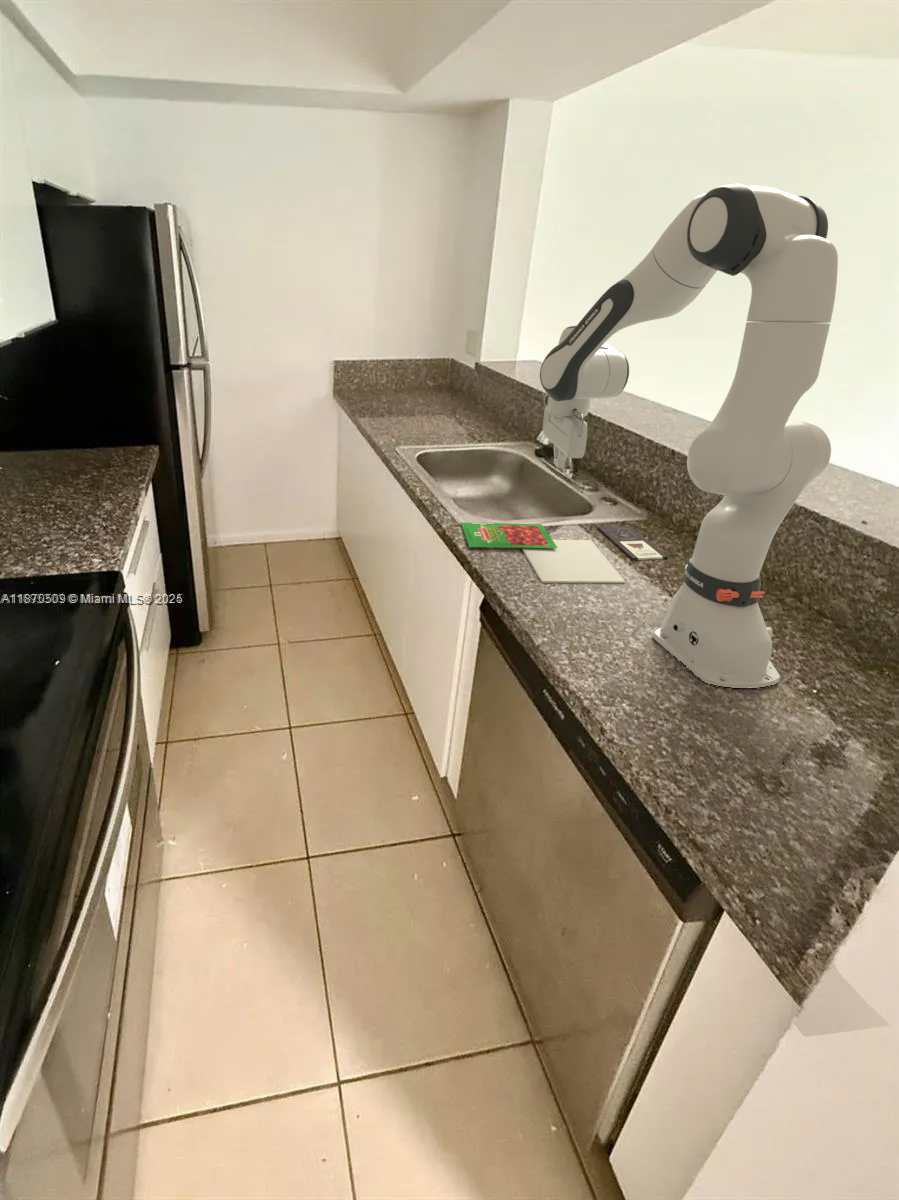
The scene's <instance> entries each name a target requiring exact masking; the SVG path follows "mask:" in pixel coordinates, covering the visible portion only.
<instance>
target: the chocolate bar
mask: <svg viewBox="0 0 899 1200" xmlns="http://www.w3.org/2000/svg"><path fill="white" fill-rule="evenodd" d="M596 529H597V530H598V531H599V532H600V531H601V532H602V533H603V536H605V537H606V538H607V537H608V538H609V539H610V540H611V541H612V543H613V542H614V543H615V544H614V543H613V544H614V545H615V546H616V545H617V546H618V547H619V548H620V549H621V550H622V551H621V550H620V549H619V548H618V547H617V546H616V547H617V548H618V549H619V550H620V551H621V552H622V553H623V554H625V555H626V556H627V557H628V556H629V557H630V558H631V559H630V558H629V557H628V558H629V559H630V560H631V561H645V560H647V561H649V560H668V558H669V556H668V554H665V553H664V552H663V551H662V550H660V548H658V547H657V546H656V545H654V544H653V542H652V543H651V542H650V541H649V540H648V539H647V538H646V537H645V536H643V535H642V534H641V533H640V532H639V531H637V530H636V529H634V528H633V527H632V526H631V525H622V526H621V525H619V526H618V525H617V526H615V525H614V526H597V528H596ZM601 532H600V533H601ZM602 533H601V534H602ZM608 538H607V539H608ZM609 539H608V540H609ZM610 540H609V541H610ZM611 541H610V542H611Z"/></svg>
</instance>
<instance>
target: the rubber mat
mask: <svg viewBox="0 0 899 1200" xmlns="http://www.w3.org/2000/svg"><path fill="white" fill-rule="evenodd" d="M552 540H553V542H554V543H555V545H556V546H557V548H521V550H522V552H523V554H524V556H525V557H526V559H527V560H528V562H529V564H530V566H531V567H532V569H533V571H534V572H535V575H536V576H537V577H538V579H539V581H540V582H541V584H625V583H626V581H625V579H624V578H623V577H622V576H621V574H620V573H619V572H618V571H617V570H616V568H615V567H614V566H613V565H612V564H611V562H609V560H608V559H607V558H606V557H605V555H604V554H603V553H602V551H601V550H600V549H599V548H598V547H597V546H596V544H595V543H594V542H593V541H592V540H591V539H589V540H588V539H587V540H586V539H552Z"/></svg>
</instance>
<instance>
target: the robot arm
mask: <svg viewBox="0 0 899 1200" xmlns="http://www.w3.org/2000/svg"><path fill="white" fill-rule="evenodd" d="M828 230H829V221H828V216H827V214H826V211H825V210H824V209H823V207H822V206H821V204H818V203H817V202H816V201H815V200H813V199H812V198H809V197H808V196H802V195H794V194H791V193H789V192H786V191H782V190H779V189H778V188H775V187H769V186H760V185H750V186H749V185H748V186H747V185H745V184H743V183H742V184H741V183H733V184H731V183H730V184H726V185H721V186H718V187H714V188H713V189H711V190H709V191H708V192H707V193H702V194H700V195H697V196H696V197H695V198H693V199H692V200H691V201H690V202H689V203H688V204H687V205H686V206H685V207H684V208H683V209H682V210H681V211H680V212H679V213H678V215H677V216H676V217H675V218H674V219H673V220H672V221H671V223H670V224H669V225H668V226H667V227H666V229H665V230H664V232H663V233H662V234H661V235H660V237H659V238H658V240H657V241H656V242H655V244H654V245H653V247H652V248H651V249H650V251H649V252H648V253H647V254H646V255H645V257H644V258H643V259H642V260H641V261H640V262H639V263H638V264H637V265H636V266H635V267H634V268H633V269H632V270H631V271H630V272H629V273H627V274H626V275H625V276H623V278H621V279H620V280H619V281H617V282H616V283H614V284H612V286H611V287H609V288H608V289H607V290H606V291H605V292H604V293H603V294H602V295H601V296H600V297H599V298H598V299H597V301H596V302H595V303H594V304H593V305H592V306H591V308H590V309H589V310H588V312H586V314H584V316H583V318H581V320H580V321H579V322H578V323H577V324H576V325H571V326H567V327H565V328H564V329H563V330H562V333H561V334H560V338H559V340H558V345H556V346H554V347H553V348H552V349H551V350H550V351H549V352H548V353H547V354H546V357H545V358H544V359H543V361H542V363H541V367H540V368H539V369H540V370H539V380H540V384H541V386H542V388H543V390H544V391H545V393H546V394H545V395H544V398H543V405H544V406H545V407H544V411H543V421H542V422H543V423H542V433H543V436H544V437H546V439H548V441H550V442H551V444H553V456H554V458H553V463H552V464H554V465H555V467H556V468H557V469H564V468H565V466H566V462H567V459H568V458H569V459H582V458H583V457H584V455H585V453H586V446H587V440H588V439H587V438H588V423H587V422H586V421H585V419H584V418H585V417H587V416H588V414H589V411H590V410H589V408H590V405H591V404H590V403H591V400H594V399H610V398H614V397H617V396H619V395H620V394H621V393H623V391H624V389H625V388H626V385H627V383H628V380H629V376H630V364H629V360H628V358H627V357H626V355H625V354H624V353H623V352H622V351H620V350H617V349H616V348H615V347H613V346H611V344H609V343H608V342H607V341H608V340H609V339H610V338H612V337H613V335H615V334H616V333H618V332H619V331H621V330H623V329H625V328H627V327H630V326H634V325H637V324H641V323H645V322H649V321H655V320H659V319H661V320H662V319H664V318H669V317H672V316H674V315H676V314H679V313H680V312H682V311H683V310H685V308H686V307H688V306H690V304H691V303H692V302H693V301H694V300H695V299H696V298H697V297H698V296H699V295H700V293H701V292H702V291H703V290H704V289H705V287H706V286H707V284H709V282H710V281H711V279H712V278H713V277H714V276H715V274H716V273H717V272H721V273H724V274H726V275H729V276H732V277H734V276H737V275H739V274H743V275H745V276H746V277H747V279H748V280H749V282H750V285H751V295H750V303H749V307H748V312H747V317H746V318H747V319H746V322H745V326H744V327H745V328H744V333H743V338H742V343H741V348H740V352H739V357H738V362H737V365H736V371H735V374H734V378H733V380H732V382H731V383H732V384H731V386H730V388H729V390H728V393H727V394H726V397H725V399H724V401H723V403H722V405H721V407H720V408H719V410H718V412H717V413H716V415H715V417H714V419H712V421H711V423H710V424H708V426H707V427H706V428H705V429H704V430H703V431H702V432H700V434H698V435H697V436H696V437H695V439H694V440H693V441H692V443H691V445H690V446H689V449H688V452H687V459H686V462H687V463H686V464H687V465H686V466H687V467H686V468H687V472H688V475H689V477H690V479H691V482H692V483H693V484H694V485H695V486H696V487H697V488H698V489H700V491H703V492H705V493H710V494H715V495H720V496H723V498H722V499H721V500H720V501H719V503H717V505H716V506H715V507H713V508H712V509H711V510H710V511H709V512H707V514H706V515H705V516H704V518H703V519H702V522H701V524H700V528H699V530H698V535H697V538H696V542H695V546H694V549H693V551H692V556H691V557H690V558H689V559H688V561H687V563H686V564H685V568H684V573H683V577H682V578H683V583H682V585H681V586H680V588H678V590H677V591H676V593H675V594H674V595H673V596H672V599H671V600H670V603H669V605H668V607H667V610H666V613H665V615H664V619H663V621H662V623H661V626H660V627H658V628H657V629H656V630H655V631H654V633H653V635H652V638H653V639H654V640H655V641H656V642H657V643H658V644H659V645H661V647H663V648H664V649H665V650H666V651H667V652H668V651H669V652H668V653H670V654H671V655H672V656H673V657H674V656H675V657H676V658H677V660H678V662H680V661H681V662H682V663H683V664H684V665H686V667H685V668H686V669H688V668H689V669H688V670H689V671H690V670H691V671H692V672H693V673H694V674H693V673H692V672H691V671H690V672H691V673H692V674H693V675H695V677H697V678H698V677H699V678H700V679H701V680H702V681H701V680H700V679H699V678H698V679H699V680H700V681H701V682H703V681H704V682H706V683H708V685H710V684H713V685H718V686H723V687H724V686H725V687H732V688H739V687H740V688H744V687H745V688H748V687H765V686H769V687H771V686H770V685H773V686H775V685H777V684H778V683H779V682H780V681H781V675H780V674H779V672H778V670H777V669H776V668H775V667H776V666H774V665H773V663H772V662H771V660H770V659H771V656H772V650H773V640H772V638H773V633H774V632H773V629H772V628H771V627H769V626H767V625H766V623H765V619H764V616H763V614H762V611H761V609H760V606H759V603H758V602H759V601H760V598H764V596H762V595H765V594H766V591H765V590H764V591H763V590H762V591H761V585H762V584H761V575H760V573H761V571H762V568H763V565H764V562H765V560H766V557H767V554H768V552H769V549H770V546H771V543H772V541H773V539H774V536H775V534H776V532H777V531H778V529H779V527H780V525H781V523H782V522H783V520H784V519H785V517H787V515H788V513H789V512H790V510H791V509H792V508H793V505H794V504H795V503H796V501H797V500H798V498H799V497H800V496H801V494H802V493H803V492H804V490H805V489H806V488H807V487H808V486H809V485H810V484H811V483H812V482H813V481H815V479H817V478H818V477H819V476H820V475H821V474H823V472H824V471H825V470H826V468H827V467H828V465H829V462H830V460H831V454H832V446H831V441H830V438H829V436H828V435H827V433H826V431H824V430H823V429H822V428H821V427H819V426H817V425H815V424H812V423H810V422H806V421H802V420H797V419H794V418H793V419H792V418H791V419H790V416H791V414H792V412H793V411H794V409H795V407H796V405H797V404H798V402H799V401H800V400H801V398H802V396H803V395H805V393H807V392H808V391H809V390H810V389H811V388H812V387H813V386H814V384H815V383H816V381H817V379H818V378H819V373H820V370H821V365H822V361H823V357H824V352H825V348H826V343H827V340H828V339H827V338H828V334H829V331H830V327H831V324H830V323H831V322H832V317H833V316H832V315H833V312H834V307H835V301H836V293H837V282H838V270H839V269H838V268H839V267H838V266H839V265H838V264H839V255H838V252H837V248H836V246H835V245H834V244H833V243H832V242H831V241H829V240H828V239H827V237H828V232H829V231H828ZM675 657H674V658H675ZM676 658H675V659H676ZM681 662H680V663H681ZM682 663H681V664H682ZM683 664H682V665H683ZM684 665H683V666H684ZM704 682H703V683H704ZM706 683H705V684H706ZM776 683H777V684H776ZM774 684H775V685H774ZM713 685H712V686H713ZM718 686H717V687H718ZM723 687H722V688H723ZM732 688H731V689H732ZM765 688H766V687H765Z"/></svg>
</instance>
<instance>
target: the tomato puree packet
mask: <svg viewBox="0 0 899 1200" xmlns="http://www.w3.org/2000/svg"><path fill="white" fill-rule="evenodd" d="M472 523H473V522H460V524H461V527H462V529H463V532H464V535H465V539H466V541H467V544H468V546H469V548H510V549H511V548H515V549H520V548H557V546H556V545H555V543H554V542H553V540H554V539H552V537H551V536H550V534H549V532H548V531H547V530H546V528H545V527H544V525H543V524H542V523H511V522H510V523H509V522H508V523H506V522H503V523H500V522H495V523H494V522H493V523H494V524H486V525H480V524H472Z"/></svg>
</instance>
